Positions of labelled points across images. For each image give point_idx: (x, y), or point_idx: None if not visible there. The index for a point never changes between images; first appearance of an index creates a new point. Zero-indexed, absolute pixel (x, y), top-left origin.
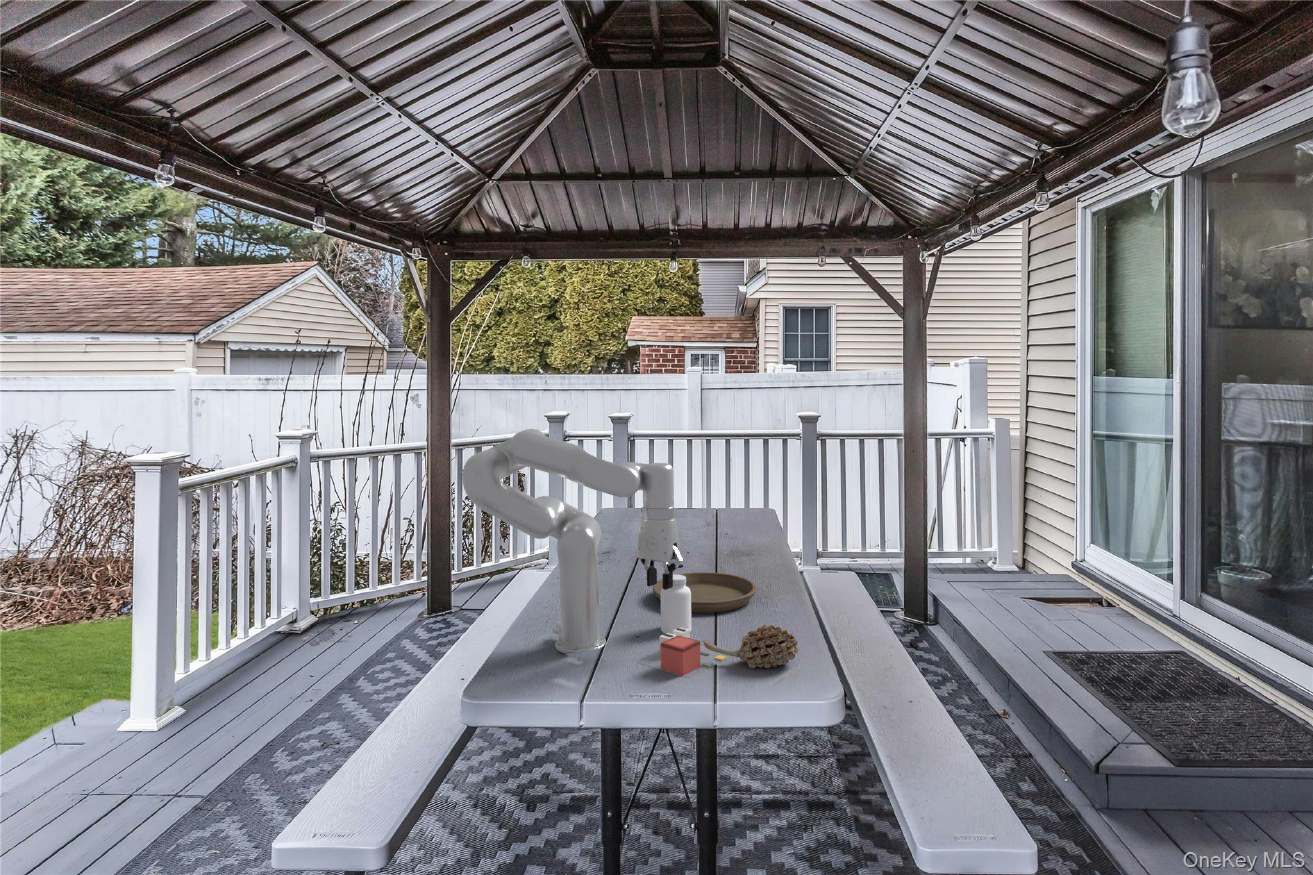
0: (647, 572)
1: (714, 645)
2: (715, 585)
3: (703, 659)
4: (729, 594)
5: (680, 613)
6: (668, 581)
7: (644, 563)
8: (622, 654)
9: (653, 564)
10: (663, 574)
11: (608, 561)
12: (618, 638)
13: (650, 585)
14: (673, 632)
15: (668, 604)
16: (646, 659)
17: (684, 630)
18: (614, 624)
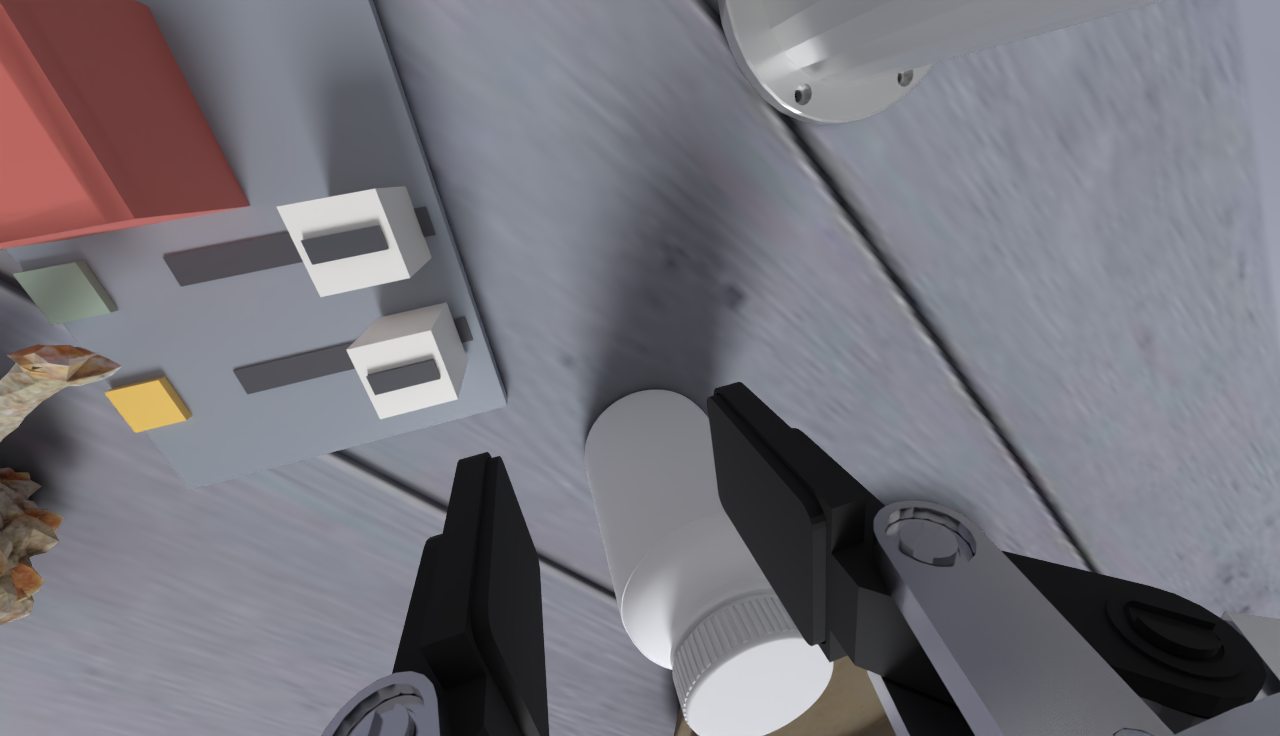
0: (829, 483)
1: (26, 393)
2: (860, 726)
3: (191, 328)
4: (781, 729)
5: (607, 498)
6: (423, 577)
7: (1054, 594)
8: (597, 68)
9: (902, 695)
10: (447, 626)
11: (1210, 593)
12: (779, 213)
13: (708, 410)
14: (424, 328)
15: (670, 485)
16: (377, 64)
17: (370, 381)
18: (903, 309)
